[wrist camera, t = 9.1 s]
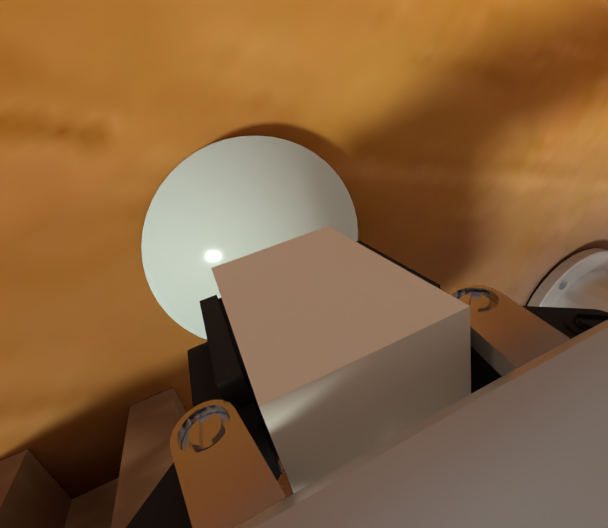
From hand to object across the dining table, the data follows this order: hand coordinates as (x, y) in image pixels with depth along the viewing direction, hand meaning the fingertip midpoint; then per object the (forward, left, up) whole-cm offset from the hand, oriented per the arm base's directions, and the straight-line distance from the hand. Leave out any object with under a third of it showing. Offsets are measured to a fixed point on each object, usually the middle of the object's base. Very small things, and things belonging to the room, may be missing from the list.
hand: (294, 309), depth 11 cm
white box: (0, +4, -1) cm, 4 cm away
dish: (0, 0, -8) cm, 8 cm away
